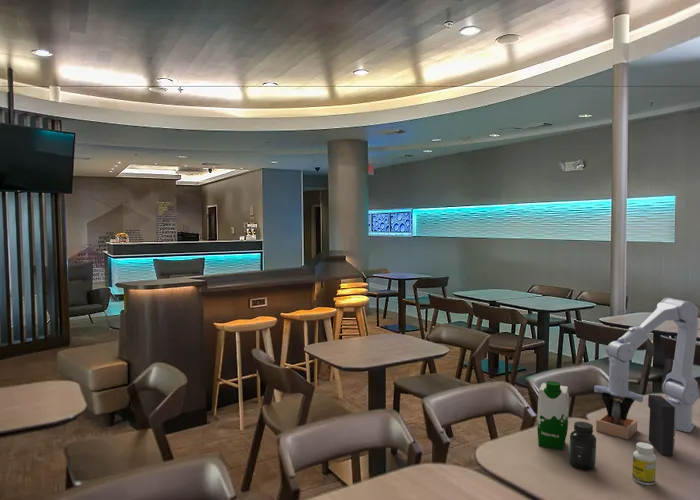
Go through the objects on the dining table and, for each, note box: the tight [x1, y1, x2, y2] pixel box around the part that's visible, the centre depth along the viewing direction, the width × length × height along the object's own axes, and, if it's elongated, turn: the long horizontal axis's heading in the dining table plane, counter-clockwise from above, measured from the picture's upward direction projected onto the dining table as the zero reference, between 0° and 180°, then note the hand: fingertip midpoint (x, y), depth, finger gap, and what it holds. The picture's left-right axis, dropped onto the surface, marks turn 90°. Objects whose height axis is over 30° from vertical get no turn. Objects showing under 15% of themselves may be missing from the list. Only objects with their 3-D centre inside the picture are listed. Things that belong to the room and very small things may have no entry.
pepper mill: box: [610, 398, 624, 426], centre depth 171 cm, size 4×4×9 cm
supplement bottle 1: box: [568, 421, 597, 472], centre depth 146 cm, size 7×7×12 cm
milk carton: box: [536, 381, 570, 451], centre depth 160 cm, size 9×9×20 cm
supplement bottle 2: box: [631, 441, 657, 486], centre depth 138 cm, size 5×5×10 cm
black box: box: [647, 394, 676, 457], centre depth 158 cm, size 11×4×15 cm, turn 168°
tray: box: [595, 412, 638, 440], centre depth 171 cm, size 10×10×4 cm
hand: (617, 417), depth 171 cm, fingers closed on pepper mill, 4 cm apart
